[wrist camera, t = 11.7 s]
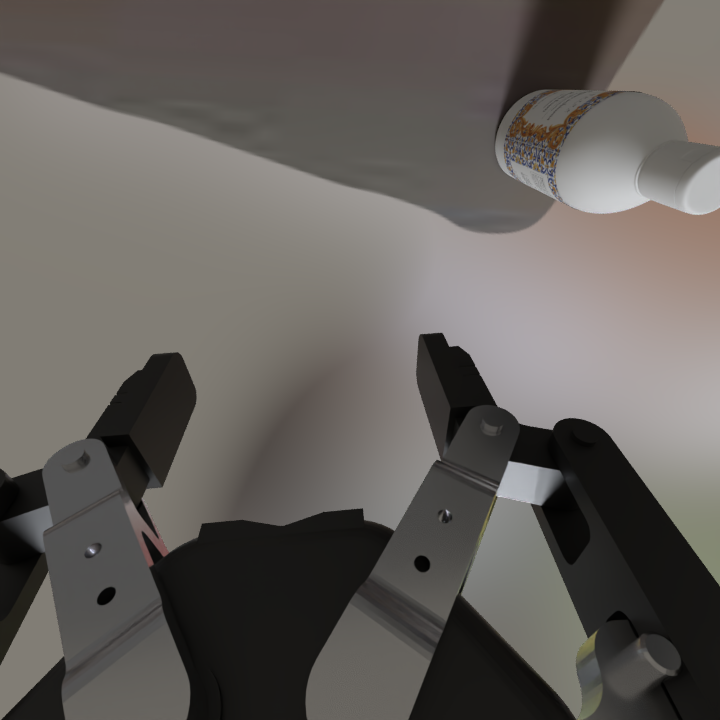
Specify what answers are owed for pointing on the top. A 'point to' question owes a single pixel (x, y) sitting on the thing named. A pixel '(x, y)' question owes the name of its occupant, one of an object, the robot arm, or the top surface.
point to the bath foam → (607, 152)
